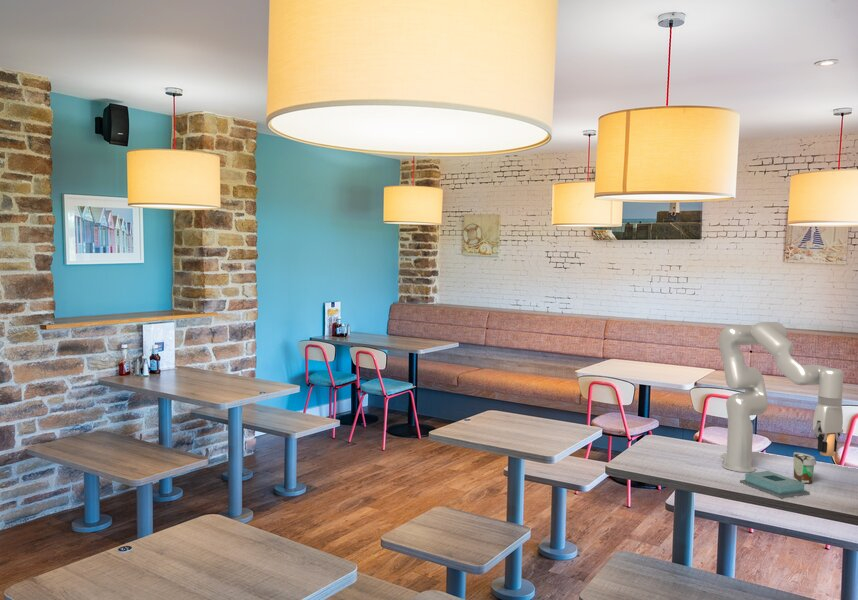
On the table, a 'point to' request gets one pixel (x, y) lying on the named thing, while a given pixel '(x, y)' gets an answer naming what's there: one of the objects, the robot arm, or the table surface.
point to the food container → (803, 467)
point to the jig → (775, 484)
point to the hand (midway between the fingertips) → (826, 450)
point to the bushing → (829, 444)
